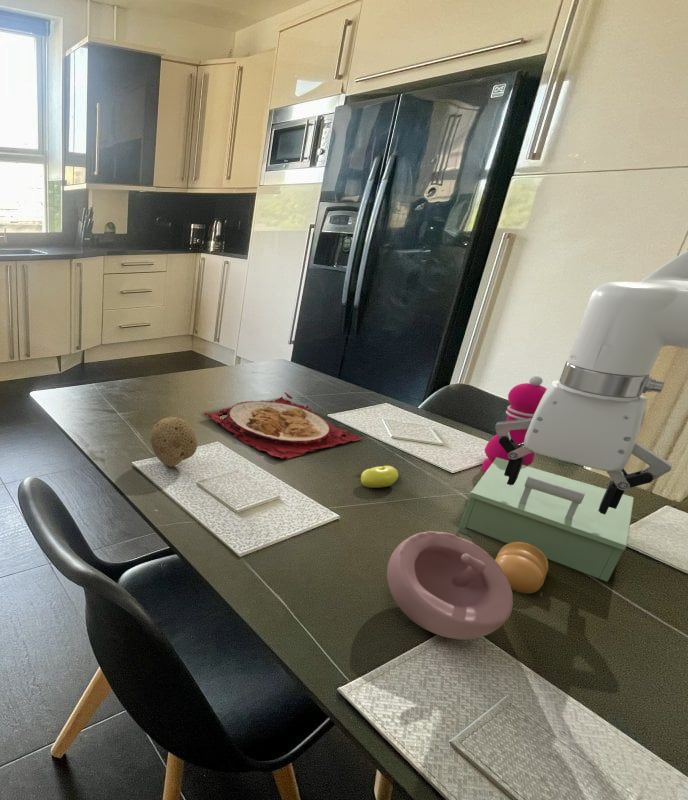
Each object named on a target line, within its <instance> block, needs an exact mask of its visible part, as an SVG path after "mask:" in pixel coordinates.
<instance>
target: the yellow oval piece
mask: <svg viewBox="0 0 688 800" xmlns="http://www.w3.org/2000/svg"><path fill="white" fill-rule="evenodd" d="M360 475H361V476H360V481H361V485H362V486H364V487H366V488H370V489H377V488H378V489H379V488H386V487H391V486H392V485H393V484H394V483H396V482H397V480H398V478H399V472H398V470H397V468H395V467H394V466H392V465H383V466H375V467H371V468H367V469H364V470H363V471H362V473H361V474H360Z"/></svg>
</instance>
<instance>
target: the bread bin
mask: <svg viewBox="0 0 688 800" xmlns="http://www.w3.org/2000/svg"><path fill="white" fill-rule="evenodd" d="M466 503H467V504H466V506H465V509H464V512H463V515H462V517H461V521H460V524H459V526H458V529H457V532H458V533H461V534H463V535H466V536H468V537H471V535H470V533H469V531H468V529H469V530H472V531H474V532H477V533H480V534H483V535H485V536H488V537H491V538H492V539H496V540H498V541H501V542H503V543H505V544H509V543H512V542H523V543H527V544H530V545H533V546H535V547H536V548H538V549H539V550H540V551H542V552H543V554H544V555H545V557H546V558H547V560H550V561H553V562H555V563H557V564H561V565H562V566H565V567H568V568H571V569H573V570H576V571H578V572H581V573H584V574H586V575H589V576H591V577H594V578H596V579H599V580H602V581H604V582H607V583H608V582H609V579H610V578H611V576H612V574H613V572H614V570H615V568H616V566H617V565H618V563H619V560H620V558H621V557H622V554H623V553H624V551H625V550H621V549H618V548H615V547H613V546H610V545H607V544H604V543H601V542H598V541H595V540H593V539H590V538H587V537H584V536H581V535H578V534H575V533H572V532H570V531H567V530H564V529H561V528H558V527H555V526H552V525H549V524H547V523H544V522H541V521H538V520H535V519H532V518H529V517H527V516H524V515H521V514H518V513H515V512H512V511H509V510H506V509H504V508H501V507H498V506H495V505H492V504H489V503H486V502H483V501H481V500H478V499H475V498H472V497H469V498H468V501H467V502H466Z"/></svg>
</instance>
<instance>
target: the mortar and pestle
mask: <svg viewBox="0 0 688 800" xmlns="http://www.w3.org/2000/svg"><path fill="white" fill-rule="evenodd" d="M386 570H387V571H386V577H387V584H388V588H389V592H390V593H391V596H392V598H393V600H394V602H395V603H396V605H397V606H398V607H399V609H400V610H401V611H402V612H403V613H404V615H405V616H406V617H407V618H408V619H410V620H411V621H412V622H413V623H414V624H416V625H417V626H419V627H421V628H422V629H424V630H425V631H428V632H430V633H432V634H434V635H437V636H440V637H444V638H448V639H452V640H453V639H455V640H475V639H480V638H483V637H485V636H488V635H490V634H492V633H494V632H495V631H497V630H499V628H501V627H502V626H503V625H504V624H505V623H507V621H508V619H510V616H511V614H512V611H513V607H514V595H513V590H511V586H510V584H509V582H508V579H507V577H506V576H505V574H504V572H503V570H502V569H501V567H500V566H499V565H498V564H497V562H496V561H495V559H494V557H493V556H491V555H490V554H489V553H488V552H487V551H485V550H484V549H483V548H481V547H480V546H479V545H477V544H475V543H474V542H472V541H470V540H468V539H466V538H463V537H461V536H457V535H456V534H453V533H450V532H445V531H435V530H428V531H423V532H422V531H421V532H418V533H416V534H413V535H411V536H409V537H408V538H407V537H406V538H405V540H403V541H402V542H400V543H399V544H398V545H397V546H396V548H395V549H394V550H393V552H392V554H391V556H390V558H389V560H388V563H387V568H386Z"/></svg>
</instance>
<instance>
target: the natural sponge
mask: <svg viewBox="0 0 688 800" xmlns="http://www.w3.org/2000/svg"><path fill="white" fill-rule="evenodd" d="M149 438H150V439H149V440H150V444H151V448H152V450H153V452H154V454H155V456H156V458H157V459H158V460H159V461H160V462H161V463H162V464H163V465H164V466H166V467H168V466H169V468H172V467H175V466H178V465H179V464H180V463H181V462H182V461H184V460H187V459H189V458H191V457H193V456H194V454H195V453H197V452H196V451H197V448H198V440H197V437H196V434H195V431H194V429H193V427H192V426H191V425H190V424H189V423H188V422H187V421H186V420H184V419H182V418H179V417H175V416H169V417H165V418H161V419H160V420H159V421H158V422H156V423H155V424H154V425H153V427H152V428H151V431H150V434H149Z"/></svg>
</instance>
